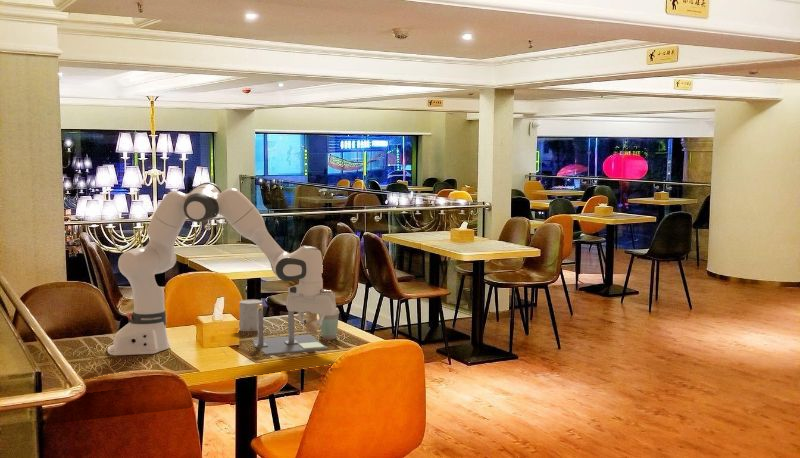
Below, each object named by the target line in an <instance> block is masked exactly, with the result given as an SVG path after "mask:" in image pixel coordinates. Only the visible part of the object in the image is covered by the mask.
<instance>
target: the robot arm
mask: <svg viewBox="0 0 800 458" xmlns="http://www.w3.org/2000/svg"><path fill="white" fill-rule="evenodd" d="M218 215H219V216H222V217H223V218H224V219H225V220H226V221H227V223H229V225H230V227H232V228H233V229H234V230H235V231H236V232H237V233H238V234H239V235H240V236H241V237H243V238H245V239H248V240H249V241H251V242H252V243H253V244H255V245H256V246H257V248H259V250H261V252H262V253H263V254H264V256H266V258H267V259H268V261H269V263H270V267H271V270H272V272H273V274H274V275H275V276H277V278H279V280H281V281H282V282H287V283H288V282H294V281H298V283H296V284H294V285H292V286H289V287H288V288H287V292H288V294H287V296H286V304H285V305H286V309H287V311H293V312H294V313H297V315H298V317H299V319H300V324H302V325H306V317H305V316H304V314H306V311H308V312H311V313H313V314H317V315H318V319H317V321H316V323H317V324H316V325H317V327H320V326H321V325H322V320H323V318H324V317H325V315H333V314H335V312H336V308H337V304H336V303H337V302H336V294H335V292H334V291H332V290H331V289H329V290H327V289H324V288H323V287H324V286H323V285H324V282H323V281H324V278H323V277H322V276H323V275H322V273H323V255H322V252H321V250H320V249H319V248H318V247H315V246H310V245H301V246H300V247H299V248H297V249H296V250H295V251H293V252H289V251H287V250H284V249H283V248H282V247H281V246H280V245H279V244H278V242H276V240H275V239H274V238H273V237H272V235H271V234H270V233H269V231H268V229H267V226H266V224H265V223H266V222H265V220H264V218H263V216H262V215H261V213H260V212H259V210H258V209H257V207H256V206H255V204H253V203H252V201H251V200H250V199H248V198H247V197H246V196H245V195H244V194H243V192H241V191H240V190H239V189H237V188H234V187H231V188H227V189H224V190H223V191H222V189H221V188H220V187H219V186H218V185H217V184H216V183H213V182H203V183H200V184H198V185H197V186H195V187H194V188H192V189H190V190H189V192H188V193H184V192H182V191H178V190H172V191H169V192H168V193H167V194H166V195H165V196H164V197H163V198H162V200H161V202H160V203H159V205H158V206H157V208H156V210H155V211H154V213H153V216H152V218H151V219H150V222H149V223H148V225H147V228H146V233H147V234H146V235H147V236H148V237H149V241H148V243H147V244H146V245H145V246H142V247H136V248H131V249H129V250H127V251H124V252H123V253H122V254H121V255H120V256H119V257H118V261H117V267H118V270H119V272H120V273H121V275H122V276H124V277H125V278H126V279H127V280H128V283H129V284H130V287H131V291H132V295H133V297H132V298H133V311H132V312H131V311H128V312H126V317H127V318H128V323H127V324H125V325H124V326H123V327H122V328H120V329H119V330H118V331H116V332H115V335H114V338H113V344H111V345H109V346H108V347H107V353H108V355H110V356H128V355H129V356H132V355H134V356H136V355H149V354H150V355H154V354H157V353H160V352H162V351H165V350H167V349H170V347H171V345H170V343H169V338H168V334H167V328H166V325H167V313H166V310H165V292H164V289H163V288H162V287H161V286H159V285H158V283H157V281H156V277H155V275H158V274H163V273H165V272H168V271H169V270H170V269H172V268H174V266H175V265H176V263H177V253H176V252H175V244H176V240H177V238H178V237H179V234H180V232H181V230H182V228H183V226H184V224H185V222H186V220H187V219H188V220H190V222H193V223H201V222H205V221H209V220H211V219H214V218H216V217H217V216H218ZM319 317H320V318H319Z"/></svg>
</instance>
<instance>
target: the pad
mask: <svg viewBox="0 0 800 458" xmlns="http://www.w3.org/2000/svg"><path fill="white" fill-rule="evenodd" d="M320 342H321V341H320ZM320 342H310V343H299V345H300V346H301V347H302V348H303V349H314V348H325V346H326V345H325V346H323V345H322V344H323V343H322V342H321V343H322V344H321V343H320Z"/></svg>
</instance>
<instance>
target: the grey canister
mask: <svg viewBox="0 0 800 458" xmlns="http://www.w3.org/2000/svg"><path fill="white" fill-rule="evenodd" d="M259 304H262V305H263V300H262V299H255V298H252V299H251V298H250V299H242V300H239V304H238V305H239V332H254V331H255V332H258V323H257V310H259V309H258V308H257V306H258V305H259Z"/></svg>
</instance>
